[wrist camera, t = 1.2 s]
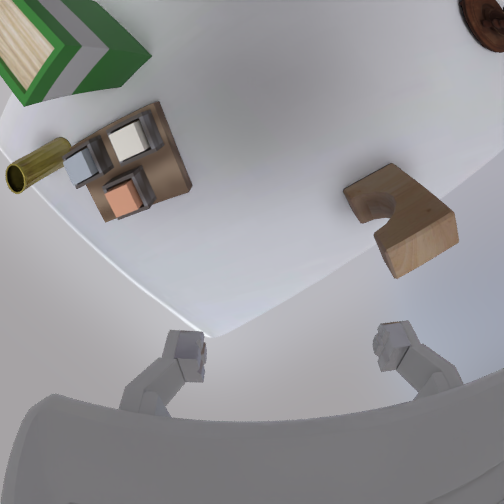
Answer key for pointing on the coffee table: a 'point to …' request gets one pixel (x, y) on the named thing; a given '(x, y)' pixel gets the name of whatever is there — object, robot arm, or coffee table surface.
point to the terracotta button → (124, 198)
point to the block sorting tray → (135, 163)
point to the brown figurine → (485, 22)
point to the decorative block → (403, 218)
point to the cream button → (129, 141)
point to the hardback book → (63, 49)
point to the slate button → (80, 166)
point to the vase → (36, 165)
